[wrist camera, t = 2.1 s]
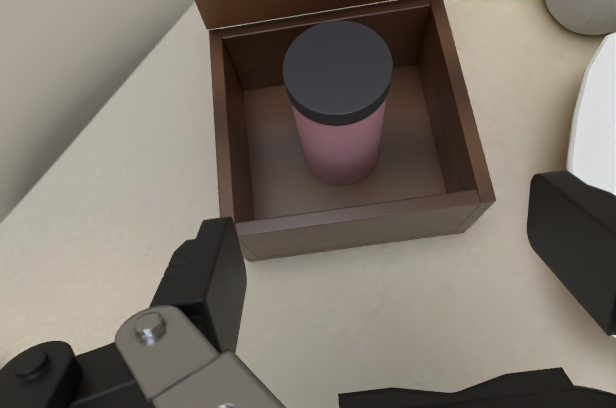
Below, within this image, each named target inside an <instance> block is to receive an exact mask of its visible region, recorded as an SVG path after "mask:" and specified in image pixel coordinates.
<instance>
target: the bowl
mask: <svg viewBox="0 0 616 408" xmlns="http://www.w3.org/2000/svg"><path fill="white" fill-rule="evenodd" d="M566 166H567V171H569V172H571V173H572V174H573V175H575V176H576V177H578V178H579V179H580V180H582V181H583V182H585V183H586V184H587V185H591V186H594V187H597V188H599V189H602V190H605V191H608V192H611V193H612V194H614V195H615V196H616V32H614V33H611V34H609V35H607V36H606V37H605V38H604V39H603V41H602V42H601V44H600V46H599V47H598V49H597V51H596V53H595V54H594V56H593V58H592V60H591V61H590V63H589V65H588V66H587V68H586V70H585V72H584V74H583V78H582V81H581V85H580V89H579V93H578V97H577V101H576V105H575V109H574V113H573V117H572V125H571V132H570V139H569V147H568V154H567V162H566ZM611 336H613V337H614V338H616V335H611Z"/></svg>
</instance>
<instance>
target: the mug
mask: <svg viewBox="0 0 616 408" xmlns="http://www.w3.org/2000/svg"><path fill="white" fill-rule="evenodd" d="M545 2H546V5H547V8H548V10H549V11H550V13H551V14H552V16H553V17H554V18H555V19H556V20H557V21H558V22H559V23H560V24H561V25H563V26H564V27H566V28H567V29H569V30H571V31H573V32H575V33H580V34H586V35H598V34H607V33H610V32H614V31H616V0H545Z"/></svg>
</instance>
